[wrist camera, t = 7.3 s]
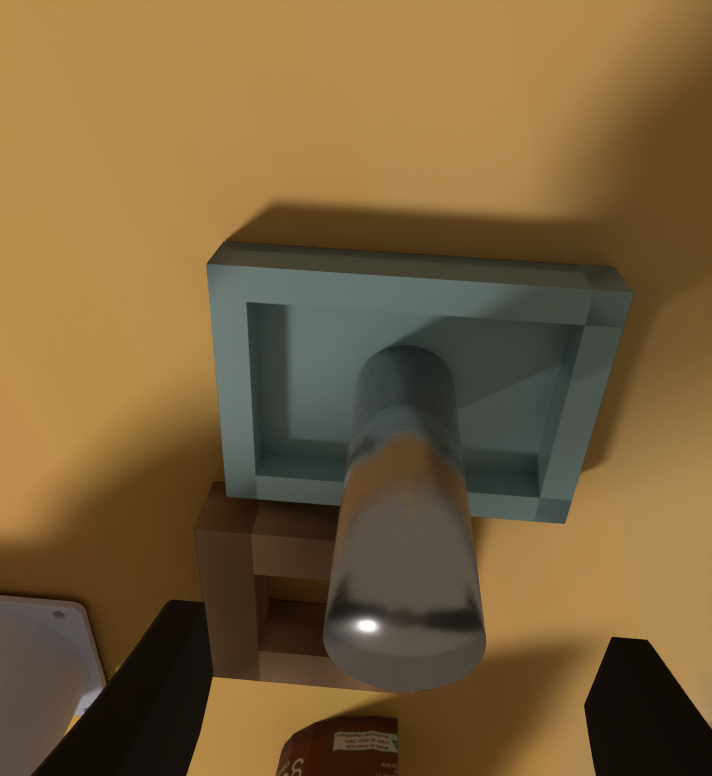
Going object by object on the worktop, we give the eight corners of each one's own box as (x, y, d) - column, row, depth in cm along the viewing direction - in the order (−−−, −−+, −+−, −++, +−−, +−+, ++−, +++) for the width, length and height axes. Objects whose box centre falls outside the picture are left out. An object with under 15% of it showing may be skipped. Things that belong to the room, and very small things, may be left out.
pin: (352, 423, 20) (319, 682, 12) (360, 340, 18) (327, 578, 11) (445, 432, 20) (471, 698, 12) (461, 350, 18) (500, 596, 11)
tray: (239, 462, 22) (226, 496, 20) (223, 241, 18) (206, 263, 16) (553, 487, 22) (564, 523, 20) (614, 267, 17) (634, 292, 16)
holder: (227, 625, 27) (212, 676, 25) (213, 481, 22) (193, 529, 20) (413, 641, 26) (414, 695, 24) (434, 499, 22) (437, 549, 20)
